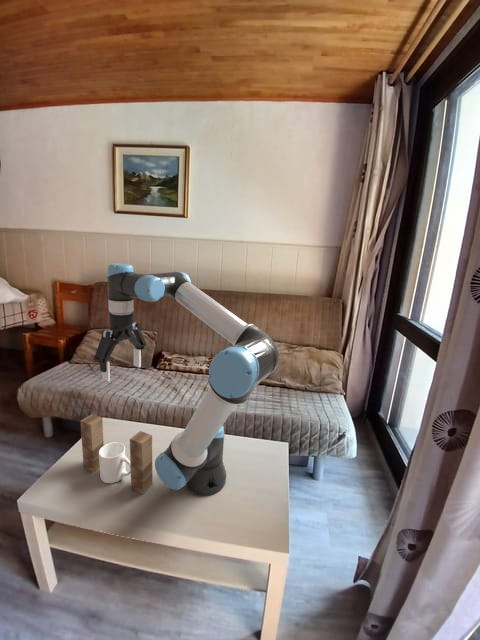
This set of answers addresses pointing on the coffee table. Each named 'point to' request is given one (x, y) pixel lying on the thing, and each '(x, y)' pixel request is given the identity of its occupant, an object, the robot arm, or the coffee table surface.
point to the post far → (91, 441)
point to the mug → (113, 462)
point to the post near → (141, 462)
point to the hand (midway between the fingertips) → (122, 372)
